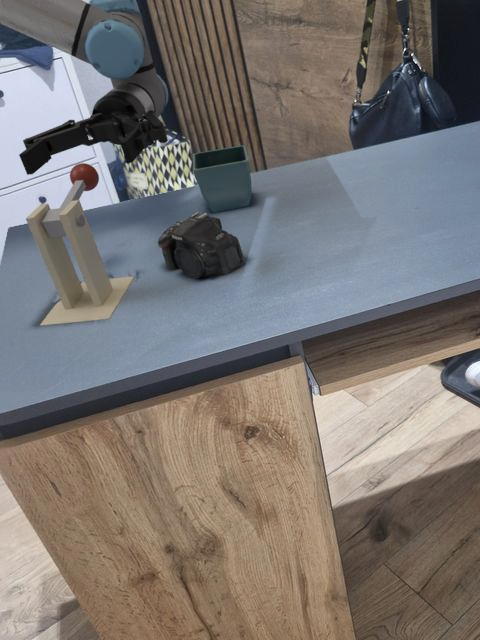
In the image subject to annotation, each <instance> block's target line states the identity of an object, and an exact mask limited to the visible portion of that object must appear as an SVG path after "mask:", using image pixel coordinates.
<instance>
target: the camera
mask: <svg viewBox="0 0 480 640" xmlns="http://www.w3.org/2000/svg"><path fill="white" fill-rule="evenodd" d="M157 245H158V248H160V249H161V251H162V257H163V259H164V262H165V265H166V267H167V269H168V270H171V271H174V270H177V269H180V271H182V273H183V274H184V275H186V276H187V277H189V278H190V279H191V278H192V279H195V280H199V279H201V278H210V277H213V276H224V275H229V274H231V273H233V272H234V271H236V270H238V269H239V268H241V267H243V266H244V265H245V264H246V263H245V257H244V254H243V251H242V248H241V244H240V241H239V238H238V237H237V236H235V235H233V234H232V233H229V232H228V231H226V230H224V229H223V224H222V222H221V218H219V217H215V216H211V215H209V214H208V213H207V212H205V213H201V211H197V212H195V213H193V214H192V215H191V216H189V217H188V218H186V219H183V220H178V221H176V223H175V224H173V225H171V226H169V227H168V228H167V229H165V230H163V233H161V235H160V236H159V238H158V241H157Z"/></svg>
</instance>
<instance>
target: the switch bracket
mask: <svg viewBox="0 0 480 640" xmlns="http://www.w3.org/2000/svg"><path fill="white" fill-rule="evenodd" d="M50 209H51V206H50V204H49V203H41V204H39V205H38V206H37V207H36V208H35V209H34V210H33V211H32V212H31V213H30V214H29V215H28V216H26V218H25V221H26V223H27V225H28V227H29V230H30V232H31V234H32V237H33V239H34V241H35V244H36V246H37V249H38V250H39V253H40V255H41V258H42V259H43V262H44V264H45V267H46V269H47V271H48V274H49V276H50V278H51V281H52V283H53V285H54V288H55V290H56V292H57V294H58V297H59V299H58V300H57V302H56V303H55V304H54V305H53V307H52V308H51V310H50V311H49V312H48V313H47V315H46V316H45V317H44V319H43V320H42V322H41V323H40V324H39V326H40V327H41V326H43V327H44V326H53V325H54V326H55V325H63V324H73V323H85V322H94V321H95V322H96V321H103V320H104V321H105V320H110V319H111V317H112V315H113V314H114V313H115V311H116V309H117V307H118V306H119V304H120V303H121V301H122V299H123V297H124V295H125V294H126V292H127V291H128V289H129V288H130V286H131V284H132V282H133V281H134V279H135V276H134V275H133V276H131V275H130V276H123V277H113V278H109V275H108V273H107V270H106V268H105V267H106V266H105V264H104V262H103V259H102V256H101V254H100V252H99V249H98V246H97V243H96V241H95V237H94V235H93V233H92V230H91V227H90V224H89V222H88V219H87V217H86V214H85V211H84V208H83V206H82V203H81V200H80V199H79V200H75V201H71V202H70V203H69V204H68V205H67V207H66V208H65V209H64V210H63V211H62V212H61V213H60V214H59V215H58V216H59V218H60V221H61V223H62V226H63V228H64V231H65V233H66V236H67V237H66V238H67V240H68V244H69V245H70V248H71V250H72V253H73V256H74V258H75V261H76V263H77V265H78V268H79V271H80V272H81V275H82V278H83V280H84V281H83V280H82V281H80V279H79V276H78V274H77V271H76V269H75V266H74V264H73V262H72V259H71V256H70V254H69V252H68V249H67V247H66V244H65V241H64V239H63V237H58V238H50V236H49V234H48V232H47V230H46V228H45V227H44V225H43V223H42V221H43V220H44V218H45V216H46V215H47V213H48V211H49V210H50Z"/></svg>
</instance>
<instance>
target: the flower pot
mask: <svg viewBox="0 0 480 640" xmlns="http://www.w3.org/2000/svg"><path fill="white" fill-rule="evenodd" d="M250 167H251V166H250V158H249V155H248V151H247V147H246V145H245V144H244V145H243V144H242V145H241V144H240V145H237V146H229V147H225V148H219V149H211V150H206V151H202V152H201V151H199V152H196V153H192V172H193V174H194V176H195V179H196V183H197V185H198V188H199V191H200V193H201V195H202V198H203V199H204V201H205V204H206V205H207V206H208V208H209V209H210V210H211V211H212V212H213V213H219V212H225V211H229V210H230V211H231V210H234V209H240V208H245V207H249V206H250V203H251V199H252V178H251V177H252V176H251V168H250Z"/></svg>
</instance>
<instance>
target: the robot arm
mask: <svg viewBox="0 0 480 640" xmlns="http://www.w3.org/2000/svg"><path fill="white" fill-rule="evenodd" d="M0 25H2V26H5V27H7V28H9V29H11V30H14V31H16V32H18V33H20V34H23V35H25V36H27V37H29V38H32V39H34V40H36V41H38V42H41V43H43V44H46V45H48V46H50V47H52V48H54V49H57V50H58V51H61V52H63V53H65V54H67V55H70V56H71V57H74V58H76V59H78V60H80V61H82V62H84V63H87V64H89V65H91V67H93V69H94V70H96V71H97V72H98V73H99V74H100V75H101V76H104V77H106V78H108V79H109V80H110V82H111V85H112V88H111V89H110V90H109V91H108V92H107V93H106V94H104V95H103V96H102V97H101V98H99V99H98V100H97V101H96V102H95V104H94V106H93V107H92V111H91V115H90V116H89V117H88V118H85V119H81V120H78V121H76V120H75V119H69V120H67V121H65V122H64V123H62V124H60V125H58V126H55V127H53V128H50V129H47V130H44V131H42V132H40V133H37V134H35V135H32V136H30V137H26V138H24V139H23V140H22V143H23V145H24V148H25V150H23V151H22V152H21V153H19V154H18V156H19V158H20V160H21V163H22V166H23V168H24V170H25V173H26V175H27V176H29V175H34V174H35V173H36V172H37V171H39V170H40V169H41V168H42V167H43V166H45V164H48V163H49V161H51V160H52V156H54V155H57V154H60V153H63V152H66V151H68V150H71V149H74V148H77V147H79V146H87V147H91V146H93V145H96V144H99V143H107V142H108V143H110V144H113V145H117V146H120V147H121V150H122V153H123V157H124V159H125V162H126V164H132V163H133V162H134V161H135V160H136V159H137V157H139V156H140V154H142V152H143V151H144V150H145V149H147V148H148V147H151V146H153V145H155V142H156V141H157V142H158V143H160V144H166V143H167V142H169V139H168V136H167V132H166V127H165V125H164V122H162V121H161V119H160V118H159V117H160V116H161V115H162V114H163V112H164V111H165V109H166V106H167V104H168V102H169V89H168V86H167V84H166V82H165V80H164V79H163V78H162V77H161V76H160V75H159V74H157V70H156V66H155V63H154V61H153V57H152V53H151V49H150V44H149V41H148V37H147V33H146V29H145V25H144V21H143V16H142V13H141V11H140V8H139V5H138V2H137V0H89V1H88V2H87V1H84V0H0ZM89 137H90V138H89Z"/></svg>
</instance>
